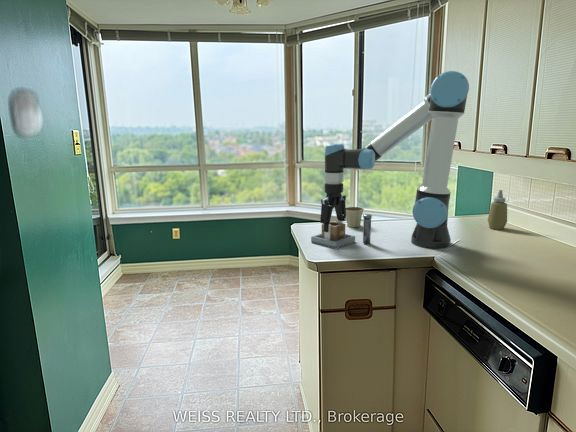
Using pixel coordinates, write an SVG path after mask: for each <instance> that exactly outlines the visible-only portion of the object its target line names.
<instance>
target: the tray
mask: <svg viewBox="0 0 576 432" xmlns="http://www.w3.org/2000/svg"><path fill="white" fill-rule="evenodd" d="M310 238H311V239H310V240H311V241H310V242H311V243H312V244H315V245H316V244H317V245H320V246H323V245H325V246H324V247H327V246H329V247H328V248H331V247H333V249H335V248H337V249H338V247H339V248H341V247H340V246H342V247H344V246H343V245H345V246H347V245H350V244H352V243H351V242H353V243H355V242H356V236H355V235H353V234H352V235H351V234H348V233H345V238H343V239H340V240H337V241H331V240H327V239H323V238H322V232H321V233H319V234H316V235H312V236H311V237H310ZM354 241H355V242H354ZM349 243H350V244H349ZM346 244H347V245H346Z"/></svg>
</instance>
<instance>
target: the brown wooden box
mask: <svg viewBox="0 0 576 432" xmlns="http://www.w3.org/2000/svg"><path fill="white" fill-rule="evenodd" d="M329 224H331V241H337V240H340V239H343V238H345V234H346V223H344V222H343V223H338V222H336V221H333V220H332V221H331V220H330V223H329ZM321 233H322V238H323V239H324V224H322V223H321Z"/></svg>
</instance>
